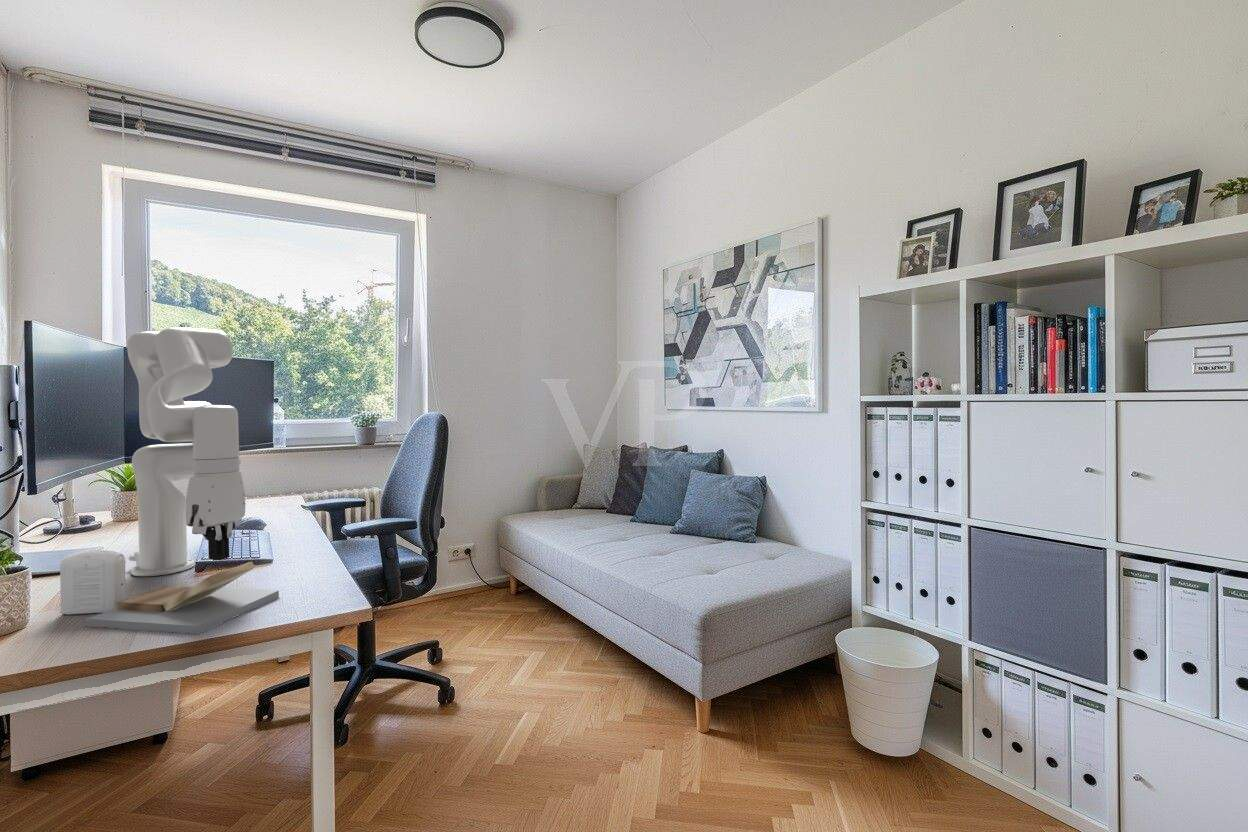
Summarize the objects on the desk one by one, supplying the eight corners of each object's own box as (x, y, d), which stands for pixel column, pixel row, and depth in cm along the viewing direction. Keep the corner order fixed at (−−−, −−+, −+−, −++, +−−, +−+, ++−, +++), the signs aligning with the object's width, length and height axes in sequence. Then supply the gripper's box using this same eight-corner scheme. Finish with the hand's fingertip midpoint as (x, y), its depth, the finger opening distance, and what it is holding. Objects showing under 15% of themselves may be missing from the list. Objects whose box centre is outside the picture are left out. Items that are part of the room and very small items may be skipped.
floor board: (86, 626, 109) (86, 618, 109) (182, 591, 129) (182, 585, 129) (197, 634, 106) (197, 626, 106) (278, 597, 125) (278, 590, 125)
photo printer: (130, 605, 121) (128, 546, 120) (117, 612, 116) (115, 551, 116) (71, 609, 118) (70, 549, 118) (56, 617, 114) (54, 555, 114)
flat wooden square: (117, 609, 114) (117, 601, 114) (165, 592, 124) (165, 585, 124) (161, 612, 113) (161, 604, 112) (206, 595, 122) (206, 588, 122)
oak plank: (166, 611, 112) (162, 604, 112) (210, 594, 122) (207, 588, 122) (214, 582, 111) (210, 575, 111) (255, 567, 120) (251, 561, 121)
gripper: (231, 463, 123) (233, 549, 124) (165, 471, 109) (168, 568, 109) (262, 463, 122) (264, 550, 123) (200, 471, 107) (202, 569, 108)
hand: (219, 558), depth 116 cm, fingers closed
